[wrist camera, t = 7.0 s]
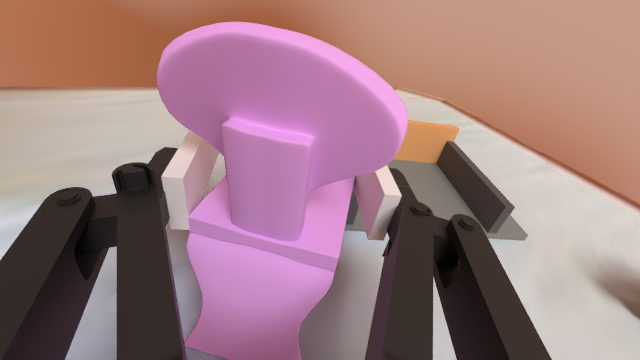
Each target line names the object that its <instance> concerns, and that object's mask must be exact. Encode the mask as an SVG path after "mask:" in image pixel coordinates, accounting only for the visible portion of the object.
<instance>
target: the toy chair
mask: <svg viewBox="0 0 640 360" xmlns="http://www.w3.org/2000/svg"><path fill="white" fill-rule="evenodd" d="M157 80H158V90H159V93H160V96H161V99H162V101H163V103H164V105H165V106H166V108H167V110H168V111H169V113H170V114H171V115H172V116H173V117H174V118H175V119H176V120H177V121H178V122H180V123H181V124H182V125H184V126H185V127H186V128H188V129H189V130H191V131H192V132H194V133H195V134H197V135H198V136H200V137H201V138H203V139H204V140H206V141H207V142H208V143H210V144H211V145H212V146H213V147H214V148H215V149H217V150H218V151H219V152H220V153H221V154H222V155H223V156H224V158H225V167H226V176H225V177H224V178H223V179H222V181H221V182H220V183H219V184H218V185H217V186H216V187H215V188H214V189H213V190H212V191H211V192H210V193H209V194H208V195H207V196H206V197H205V198H204V199H203V200H202V201H201V202H200V204H199V205H198V206H197V207H196V208H195V209H194V210H193V211H192V213H191V214H190V215H189V216H188V221H189V229H190V230H189V232H190V233H189V236H188V238H187V244H186V246H187V254H188V257H189V260H190V263H191V265H192V268H193V270H194V273H195V275H196V277H197V280H198V283H199V286H200V289H201V294H202V302H203V304H202V310H201V315H200V317H199V320H198V322H197V324H196V326H195V328H194V329H193V331H192V332H191V334H190V335H189V337H188V338H187V340H186V342H185V344H184V345H185V346H186V347H189V348H192V349H195V350H198V351H202V352H205V353H208V354H211V355H215V356H218V357H221V358H224V359H228V360H302V358H301V353H300V347H299V329H300V327H301V324H302V322H303V320H304V319H305V317H306V316H307V315H308V313H309V312H310V311H311V310H312V309H313V307H314V306H315V305H316V304H317V303H318V302H319V301H320V300H321V299H322V298H323V297H324V295H325V294H326V293H327V291H328V290H329V288H330V286H331V284H332V281H333V277H334V273H335V270H336V266H337V263H338V260H339V255H340V250H341V245H342V240H343V235H344V230H345V224H346V219H347V214H348V209H349V204H350V199H351V194H352V189H353V184H354V179H355V176H357V175H362V174H367V173H371V172H374V171H377V170H379V169H381V168H383V167H384V166H386V165H388V164H389V163H390V162H391V161H392V160H393V159H394V158H395V157H396V155H397V153H398V151H399V149H400V147H401V144H402V142H403V140H404V138H405V135H406V132H407V125H408V115H407V111H406V108H405V105H404V102H403V101H402V100H401V98H400V97H399V96H398V94H397V93H396V92H395V90H394V89H393V88H392V87H391V86H390V85H389V84H388V83H387V82H386V81H384V80H383V79H382V78H381V77H380V76H379V75H378V74H377V73H375V72H374V71H373V70H371V69H370V68H368V67H367V66H365V65H364V64H363V63H361V62H360V61H358V60H357V59H355V58H353V57H352V56H350V55H348V54H347V53H345V52H343V51H341V50H340V49H338V48H336V47H334V46H332V45H330V44H327V43H325V42H323V41H321V40H319V39H316V38H313V37H311V36H308V35H305V34H302V33H298V32H294V31H289V30H285V29H280V28H275V27H271V26H266V25H261V24H255V23H248V22H224V23H217V24H212V25H207V26H203V27H200V28H197V29H194V30H191V31H188V32H186V33H185V34H183V35H181V36H180V37H178V38H176V39H174V40H173V41H172V42H171V43H170V44H169V45H168V46H167V47H166V48H165V49H164V51H163V54H162V57H161V60H160V63H159V67H158V72H157Z"/></svg>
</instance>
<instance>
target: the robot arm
mask: <svg viewBox="0 0 640 360" xmlns="http://www.w3.org/2000/svg"><path fill="white" fill-rule="evenodd" d="M218 154H219V151H218V150H217V149H215V148H214V147H213V146H212V145H211V144H210V143H208V142H207V141H206V140H204V139H203V138H201V137H200V136H198V135H197V134H195V133H194V132H192V131H191V130H189V132H188V133H187V135H186V137H185V138H184V140H183V142H182V143H181V145H180V147H179V148H169V147H164V148H163V149H161V150H159V151H158V152H156V154H155V155H154V156H153V158H152V160H150V162H149V163H148V164H146V163H129V164H124V165H122V166H119V167H118V168H116V169H115V170H114V171H113V173H112V178H113V181H114V185H115V188H116V191H117V193H116V194H111V195H104V196H96V197H93V196H92V193H91V192H90V191H89V190H88V189H85V188H81V187H72V188H65V189H62V190H59V191H56V192H54V193H53V194H51V195H49V196H48V197H47V198H46V199H45V200H44V202H43V203H42V204H41V206H40V207H39V209H38V210H37V211H36V213H35V214H34V215H33V217H32V218H31V219H30V221H29V222H28V224H27V225H26V226H25V228H24V229H23V230H22V232H21V233H20V234H19V236H18V237H17V239H16V240H15V241H14V243H13V244H12V245H11V247H10V248H9V249H8V251H7V252H6V254H5V255H4V256H3V258H2V259H1V260H0V360H65V357H66V355H67V352H68V350H69V347H70V345H71V342H72V340H73V337H74V335H75V332H76V330H77V327H78V325H79V322H80V320H81V317H82V315H83V312H84V310H85V307H86V305H87V302H88V300H89V297H90V294H91V292H92V289H93V287H94V284H95V282H96V279H97V277H98V274H99V272H100V269H101V267H102V264H103V262H104V259H105V257H106V254H107V252H108V249H109V247H115V246H117V360H187V359H186V352H185V346H184V340H183V334H182V328H181V321H180V315H179V309H178V303H177V297H176V290H175V284H174V278H173V272H172V265H171V259H170V253H169V247H168V241H167V234H166V229H165V227H166V225H167V223H168V221H169V223H170V228H171V229H180V230H190V229H189V221H188V216H189V215H190V214H191V213H192V211H193V210H194V209H195V208H196V207H197V206H198V205H199V204H200V201H201V199H202V196H203V193H204V191H205V188H206V186H207V183H208V180H209V178H210V175H211V172H212V170H213V167H214V164H215V162H216V159H217V157H218ZM353 188H354V192H355V195H356V199H357V202H358V206H359V209H360V213H361V216H362V220H363V223H364V227H365V230H366V234H367V237H368V240H384V238H385V235H386V233H387V232H388V235H389V238H390V239H389V241H388V244H387V246H386V248H385V251H384V253H383V255H382V256H383V257H384V263H383V268H382V273H381V278H380V283H379V288H378V294H377V299H376V304H375V309H374V314H373V320H372V325H371V330H370V335H369V340H368V346H367V351H366V356H365V360H433V276H434V279H435V283H436V287H437V290H438V294H439V297H440V301H441V304H442V308H443V312H444V315H445V319H446V322H447V326H448V329H449V333H450V337H451V340H452V344H453V347H454V351H455V354H456V358H457V360H552V359H551V357H550V356H549V354H548V352H547V350H546V348H545V346H544V344H543V342H542V340H541V339H540V337H539V335H538V333H537V331H536V329H535V327H534V325H533V323H532V321H531V320H530V318H529V316H528V314H527V312H526V310H525V308H524V306H523V304H522V303H521V301H520V299H519V297H518V295H517V293H516V291H515V289H514V287H513V285H512V284H511V282H510V280H509V278H508V276H507V274H506V272H505V270H504V268H503V267H502V265H501V263H500V261H499V259H498V257H497V255H496V253H495V251H494V249H493V248H492V246H491V244H490V242H489V240H488V238H487V236H486V234H485V232H484V230H483V229H482V227H481V225H480V224H479V223H478V222H477V221H476V220H474V219H473V218H472V217H470V216H467V215H464V214H455V215H453V216H452V218H451V219H450V220H446V219H443V218H440V217H436V216H434V215H433V211H432V210H431V209H430V208H429V207H428V206H427V205H425V204H423V203H421V202H418V200H417V198H416V197H415V195H414V193H413V191H412V189H411V187H409V184H408V182H407V180H406V178H405V176H404V174H402V173H401V172H400V171H399V170H398V169H396V168H388V166H387V165H386V166H384V167H383V168H381V169H379V170H377V171H374V172H371V173H367V174H362V175H357V176H355V179H354V184H353Z"/></svg>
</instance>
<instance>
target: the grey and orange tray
mask: <svg viewBox="0 0 640 360" xmlns="http://www.w3.org/2000/svg"><path fill="white" fill-rule="evenodd" d="M458 131H459V129H458V128H457V127H456V126H451V125H443V124H435V123H427V122H419V121H411V120H408V125H407V132H406V135H405V138H404V140H403V142H402V144H401V147H400V149H399V151H398V153H397V155H396V157H395V158H394V159H393V160H392V161H391V162H390V163H389V164H388V165H387V166H388V168H396V169H398V170H399V171H400V172H401V173H402V174H404V176H405V178H406V180H407V182H408V184H409V187H411V189H412V191H413V193H414V195H415V197H416V198H417V200H418V202H421V203H423V204H425V205H427V206H428V207H429V208H430V209H431V210H432V211H433V215H434V216H436V217H440V218H443V219H446V220H450V219H451V218H452V216H453V215H455V214H464V215H467V216H470V217H472V218H473V219H474V220H476V221H477V222H478V223H479V224H480V225H481V227H482V229H483V230H484V232H485V234H486V236H487V238H495V239H513V240H525V239H526V237H527V236H528V235H527V234H526V233H525V231H524V230H523V229H522V228H521V227H520V226H519V225H518V223H517V222H516V221H515V220H514V219H513V218H512V217H511V216H510V214H511V212H512V211H513V209H514V208H515V207H514V206H513V205H512V204H511V203H510V202H509V201H508V200H507V199H506V197H505V196H504V195H503V194H502V193H501V192H500V191H499V190H498V189H497V188H496V187H495V186H494V185H493V184H492V182H491V181H490V180H489V179H488V178H487V177H486V176H485V175H484V174H483V173H482V172H481V171H480V170H479V168H478V167H477V166H476V165H475V164H474V163H473V162H472V161H471V160H470V159H469V158H468V157H467V156H466V154H465V153H464V152H463V151H462V150H461V149H460V148H459V147H458V146H457V145H456V144H455V143H454V139H455V137H456V135H457V133H458ZM345 230H355V231H366V230H365V227H364V223H363V220H362V216H361V213H360V209H359V206H358V202H357V199H356V195H355V192H354V188H353V189H352V194H351V199H350V204H349V209H348V214H347V219H346V224H345Z"/></svg>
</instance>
